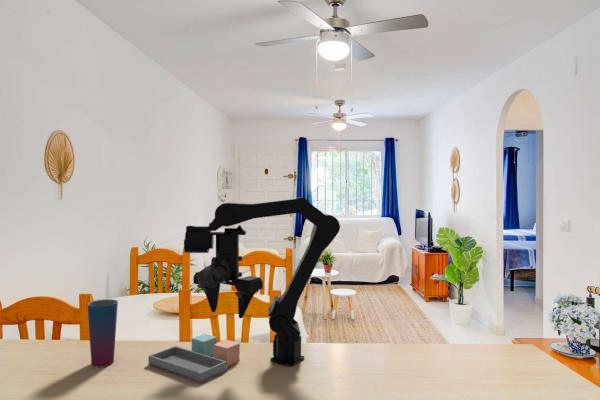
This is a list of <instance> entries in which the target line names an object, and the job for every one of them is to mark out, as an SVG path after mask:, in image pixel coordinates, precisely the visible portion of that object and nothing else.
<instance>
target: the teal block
mask: <svg viewBox="0 0 600 400" xmlns="http://www.w3.org/2000/svg"><path fill="white" fill-rule="evenodd" d="M217 338H218V337H217V336H215V335H210V334H207V333H203V334H201V335H197V336H194V337H192V338H191V351H194V352H197V353H200V354H204V355H207V356H210V357H213V356H214V344H217V343H218V341H217Z"/></svg>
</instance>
